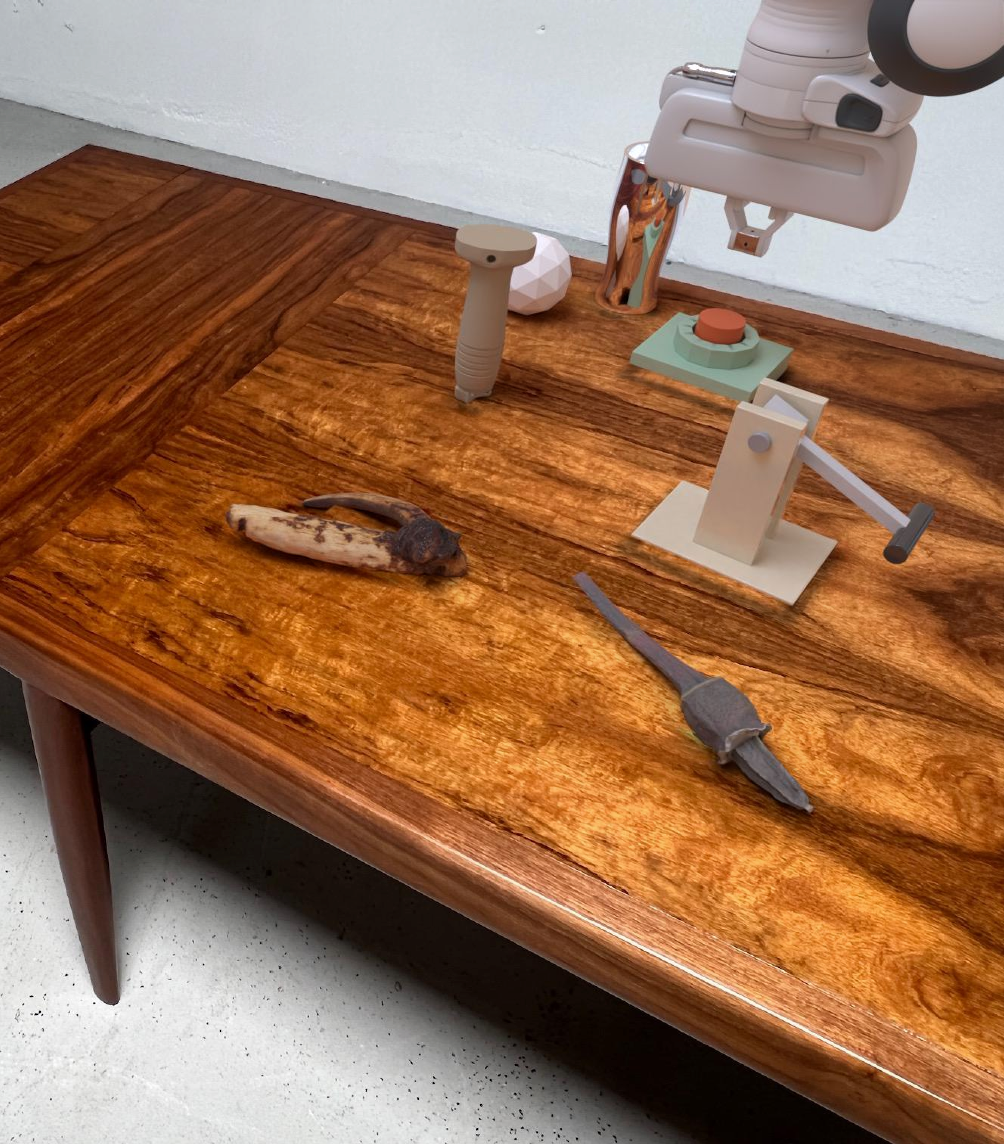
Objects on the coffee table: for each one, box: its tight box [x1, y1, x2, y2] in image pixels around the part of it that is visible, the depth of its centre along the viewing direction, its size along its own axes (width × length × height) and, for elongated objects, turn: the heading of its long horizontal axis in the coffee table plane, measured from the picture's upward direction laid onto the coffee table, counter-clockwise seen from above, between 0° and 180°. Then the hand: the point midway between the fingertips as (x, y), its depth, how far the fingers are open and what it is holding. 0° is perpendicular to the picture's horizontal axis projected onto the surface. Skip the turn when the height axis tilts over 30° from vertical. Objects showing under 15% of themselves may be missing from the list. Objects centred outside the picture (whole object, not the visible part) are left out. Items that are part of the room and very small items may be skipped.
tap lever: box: [763, 394, 936, 565], centre depth 75 cm, size 13×6×2 cm, turn 49°
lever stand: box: [630, 377, 839, 607], centre depth 79 cm, size 12×9×13 cm
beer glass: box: [594, 140, 693, 316], centre depth 109 cm, size 7×7×15 cm
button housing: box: [629, 311, 794, 403], centre depth 102 cm, size 11×10×4 cm
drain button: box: [694, 307, 747, 345], centre depth 100 cm, size 4×4×2 cm
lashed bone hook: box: [225, 492, 468, 577], centre depth 82 cm, size 9×5×18 cm
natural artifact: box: [571, 571, 814, 814], centre depth 71 cm, size 4×23×4 cm
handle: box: [454, 223, 537, 405], centre depth 95 cm, size 5×6×15 cm
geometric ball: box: [508, 231, 573, 316], centre depth 110 cm, size 8×8×8 cm
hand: (746, 251), depth 96 cm, fingers closed
